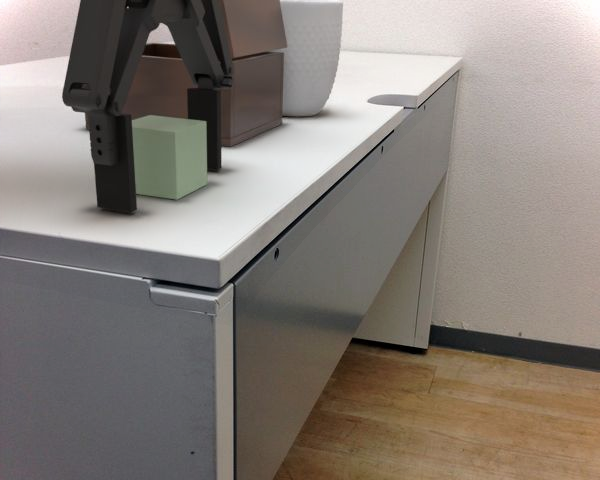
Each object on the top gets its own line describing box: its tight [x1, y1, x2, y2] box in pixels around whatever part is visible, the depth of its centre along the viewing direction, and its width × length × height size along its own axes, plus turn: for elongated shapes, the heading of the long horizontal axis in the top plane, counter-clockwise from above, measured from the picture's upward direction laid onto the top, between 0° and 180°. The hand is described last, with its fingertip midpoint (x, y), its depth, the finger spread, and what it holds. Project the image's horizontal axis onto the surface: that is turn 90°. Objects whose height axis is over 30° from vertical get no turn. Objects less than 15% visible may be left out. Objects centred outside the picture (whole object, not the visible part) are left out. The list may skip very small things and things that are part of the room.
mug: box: [271, 0, 344, 118], centre depth 89 cm, size 15×11×13 cm
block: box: [132, 115, 208, 201], centre depth 55 cm, size 5×5×5 cm
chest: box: [83, 42, 284, 148], centre depth 78 cm, size 17×14×8 cm
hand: (165, 186), depth 56 cm, fingers open, 13 cm apart
